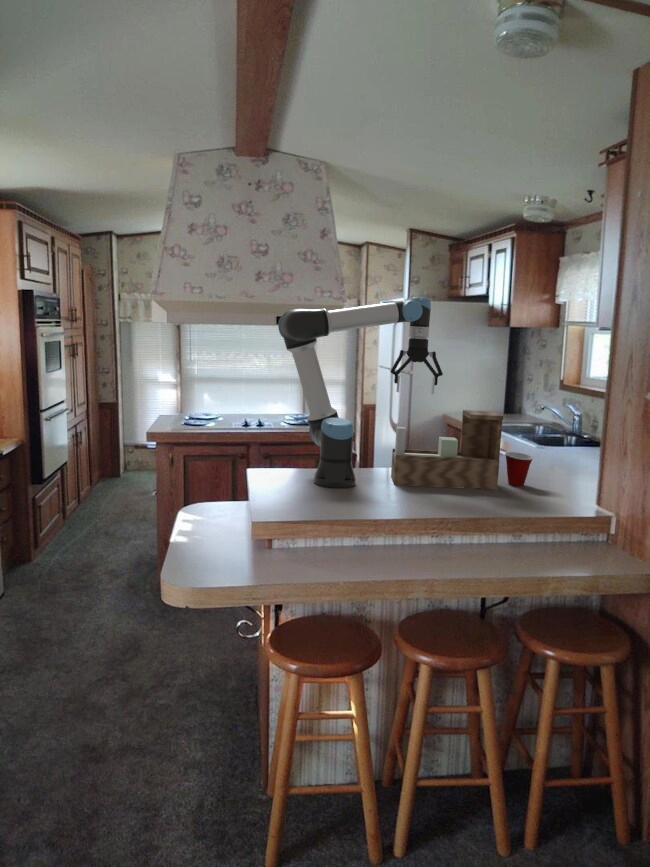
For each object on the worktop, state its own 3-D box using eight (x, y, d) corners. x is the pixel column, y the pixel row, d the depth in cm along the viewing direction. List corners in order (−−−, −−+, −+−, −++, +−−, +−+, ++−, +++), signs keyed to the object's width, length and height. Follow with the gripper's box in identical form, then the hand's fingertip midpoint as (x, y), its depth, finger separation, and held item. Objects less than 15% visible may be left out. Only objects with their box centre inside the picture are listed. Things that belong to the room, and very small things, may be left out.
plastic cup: (525, 489, 246) (528, 458, 245) (497, 484, 253) (500, 453, 251) (535, 485, 255) (538, 454, 253) (508, 480, 261) (511, 450, 260)
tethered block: (396, 456, 246) (398, 428, 245) (394, 452, 253) (396, 426, 252) (456, 459, 246) (458, 431, 245) (453, 455, 253) (455, 429, 251)
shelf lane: (394, 484, 244) (398, 411, 240) (390, 476, 258) (395, 406, 254) (496, 489, 244) (503, 416, 240) (488, 481, 258) (494, 411, 254)
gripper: (387, 336, 252) (383, 392, 255) (452, 339, 252) (448, 395, 255) (385, 336, 260) (382, 390, 263) (449, 339, 259) (445, 393, 263)
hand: (415, 392), depth 259 cm, fingers open, 13 cm apart
